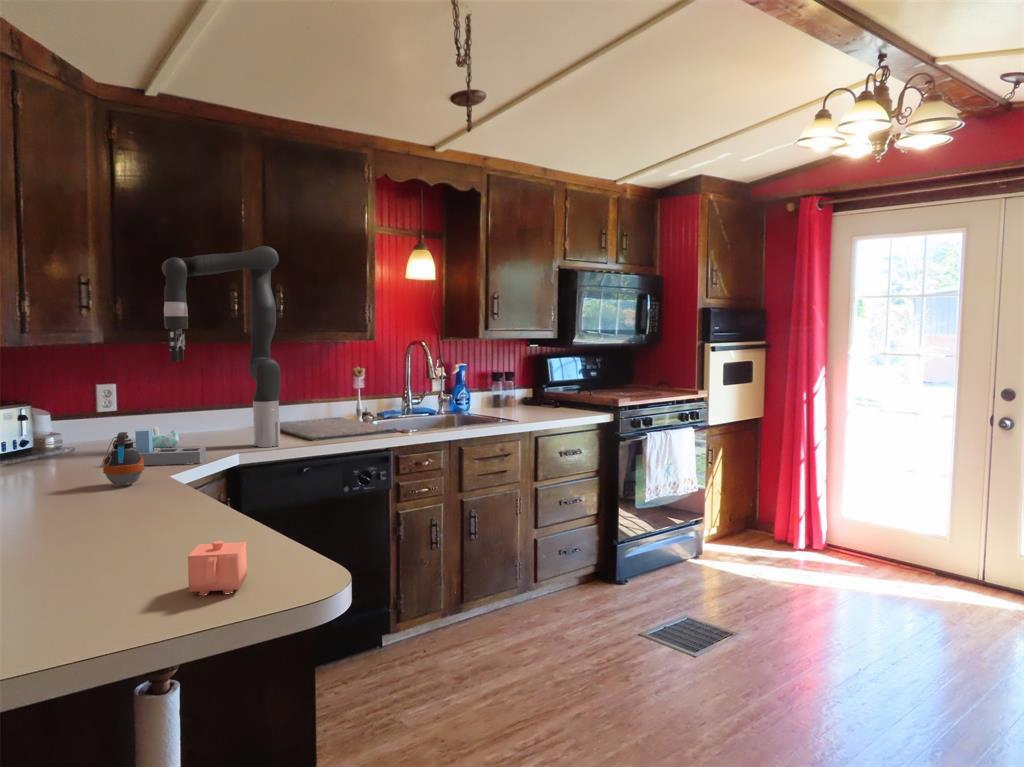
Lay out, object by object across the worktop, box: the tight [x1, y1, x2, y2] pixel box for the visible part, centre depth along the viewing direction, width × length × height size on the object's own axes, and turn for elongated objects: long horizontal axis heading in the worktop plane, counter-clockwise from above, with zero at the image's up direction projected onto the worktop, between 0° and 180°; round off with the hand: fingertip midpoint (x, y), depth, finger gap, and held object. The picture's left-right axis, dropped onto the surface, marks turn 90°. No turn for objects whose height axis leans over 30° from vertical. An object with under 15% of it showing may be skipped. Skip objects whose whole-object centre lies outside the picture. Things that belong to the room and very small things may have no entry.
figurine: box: [152, 426, 180, 448], centre depth 271 cm, size 13×6×30 cm
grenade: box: [101, 431, 145, 487], centre depth 200 cm, size 11×10×15 cm
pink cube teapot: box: [187, 540, 248, 595], centre depth 120 cm, size 8×12×8 cm, turn 10°
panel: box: [134, 446, 207, 466], centre depth 236 cm, size 22×10×4 cm, turn 103°
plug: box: [135, 428, 153, 453], centre depth 234 cm, size 4×4×11 cm
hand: (177, 361), depth 251 cm, fingers open, 8 cm apart
